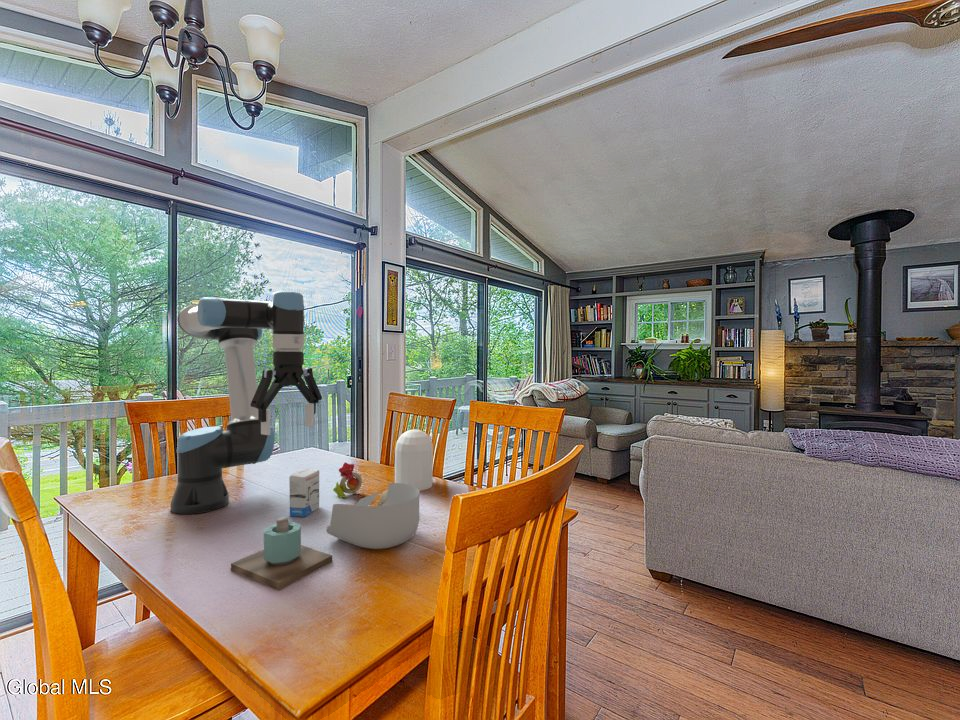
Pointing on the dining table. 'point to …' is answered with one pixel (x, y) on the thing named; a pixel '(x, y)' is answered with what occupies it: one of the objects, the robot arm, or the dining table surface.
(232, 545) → the dining table surface
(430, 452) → the container
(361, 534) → the bowl
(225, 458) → the robot arm
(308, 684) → the dining table surface
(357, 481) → the bird rattle
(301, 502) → the ink box
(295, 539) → the collar
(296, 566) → the shaft board
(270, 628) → the dining table surface
